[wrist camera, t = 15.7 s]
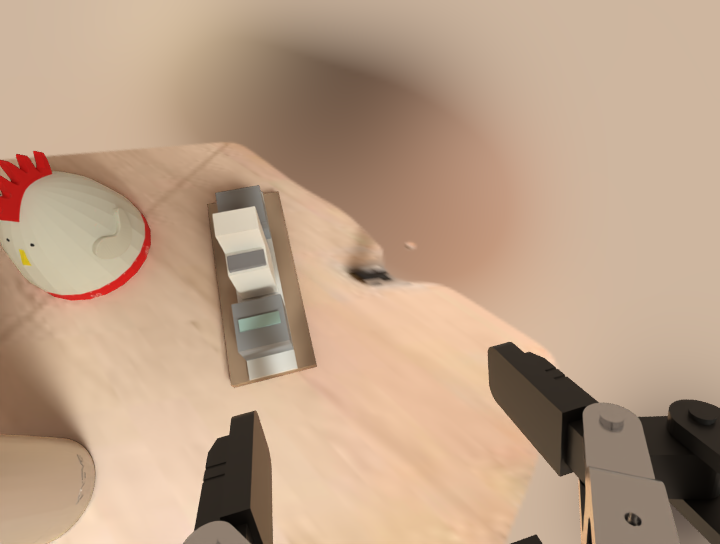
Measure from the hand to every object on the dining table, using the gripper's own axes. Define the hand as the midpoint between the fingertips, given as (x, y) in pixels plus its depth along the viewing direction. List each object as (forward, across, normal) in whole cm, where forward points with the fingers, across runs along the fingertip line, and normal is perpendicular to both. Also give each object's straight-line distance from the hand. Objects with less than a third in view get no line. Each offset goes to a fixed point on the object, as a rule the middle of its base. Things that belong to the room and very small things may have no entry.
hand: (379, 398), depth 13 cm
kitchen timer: (+42, +25, +1) cm, 49 cm away
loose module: (+34, +6, +6) cm, 35 cm away
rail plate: (+36, +6, +8) cm, 37 cm away
